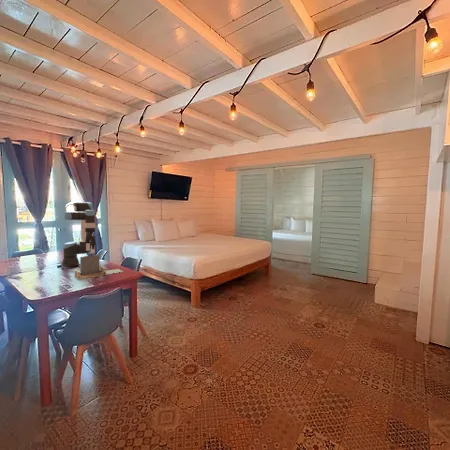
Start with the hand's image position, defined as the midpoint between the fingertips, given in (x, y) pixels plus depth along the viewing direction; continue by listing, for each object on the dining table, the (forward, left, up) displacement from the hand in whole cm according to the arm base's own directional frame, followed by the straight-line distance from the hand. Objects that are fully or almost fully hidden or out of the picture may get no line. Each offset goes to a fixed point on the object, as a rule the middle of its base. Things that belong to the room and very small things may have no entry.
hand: (90, 251), depth 210 cm
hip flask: (0, 0, -22) cm, 22 cm away
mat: (0, +19, -22) cm, 29 cm away
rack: (0, 0, -22) cm, 22 cm away
